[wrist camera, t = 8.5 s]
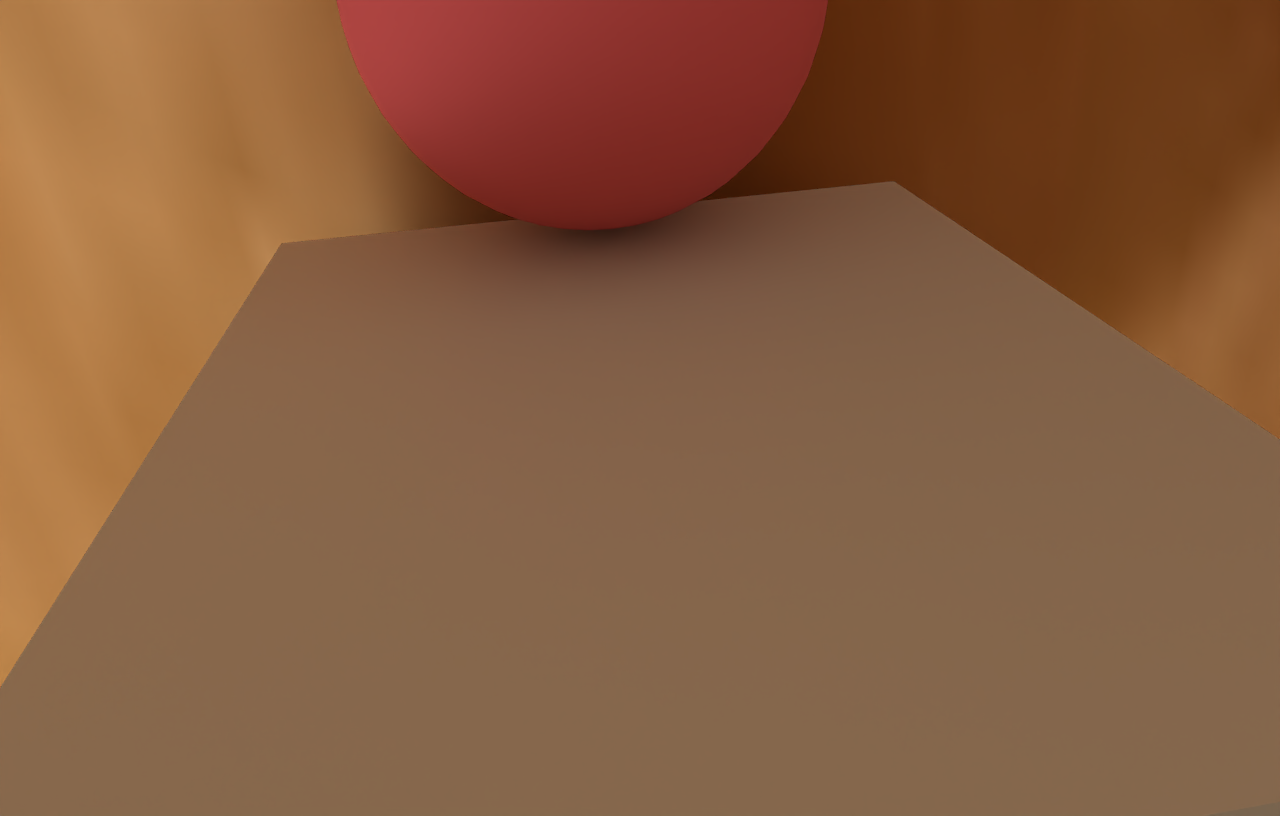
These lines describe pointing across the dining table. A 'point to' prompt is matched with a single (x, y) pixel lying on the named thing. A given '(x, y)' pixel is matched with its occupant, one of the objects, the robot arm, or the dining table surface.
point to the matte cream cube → (670, 543)
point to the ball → (584, 96)
